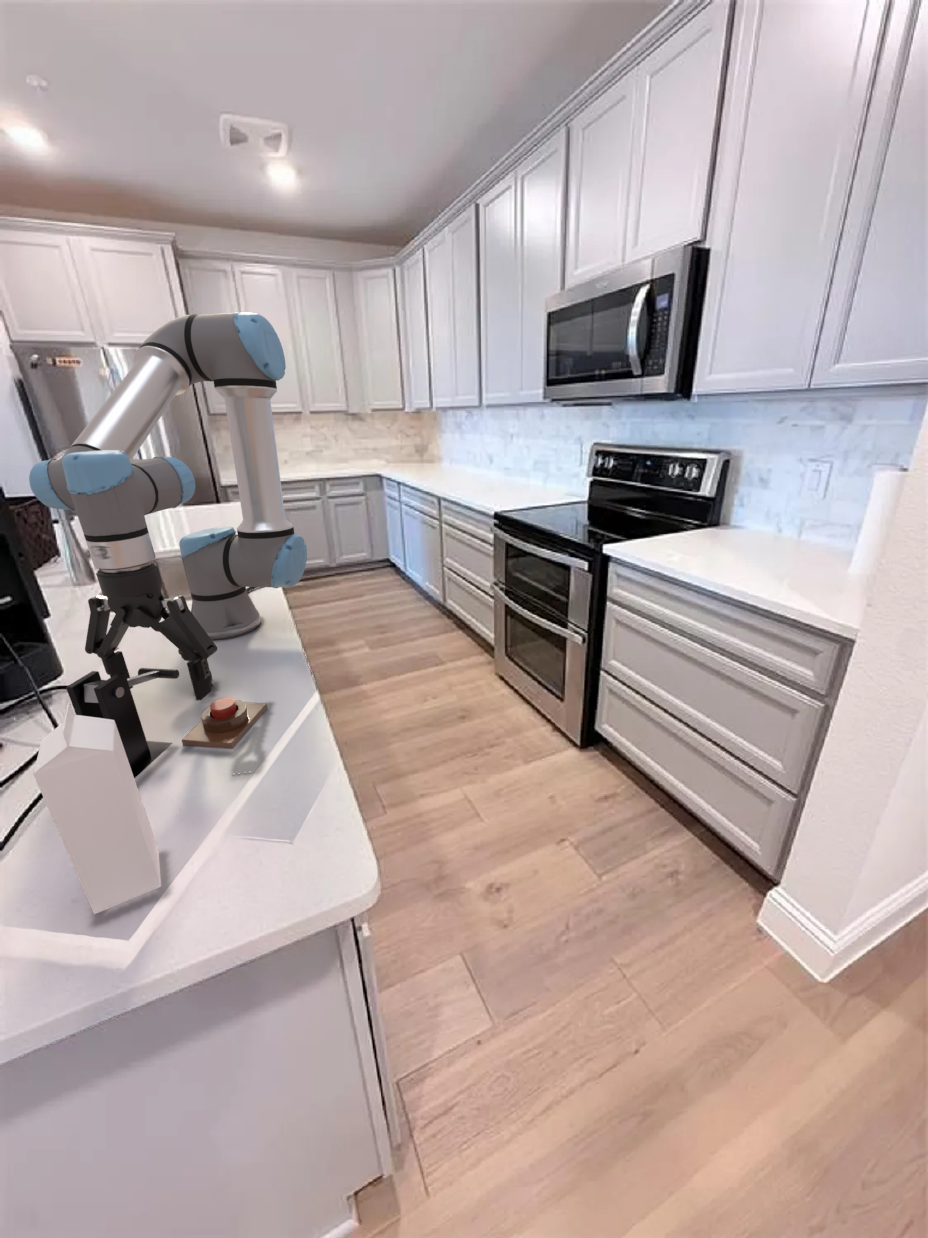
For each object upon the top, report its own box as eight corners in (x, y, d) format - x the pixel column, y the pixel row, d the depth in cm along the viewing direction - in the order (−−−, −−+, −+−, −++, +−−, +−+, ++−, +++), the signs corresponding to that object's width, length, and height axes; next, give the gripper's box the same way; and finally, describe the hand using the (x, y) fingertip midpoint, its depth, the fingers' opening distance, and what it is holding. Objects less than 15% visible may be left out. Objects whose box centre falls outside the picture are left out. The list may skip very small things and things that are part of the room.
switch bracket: (126, 745, 78) (98, 661, 73) (174, 749, 77) (149, 663, 72) (73, 791, 69) (35, 698, 64) (126, 795, 68) (93, 701, 63)
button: (220, 706, 82) (218, 696, 81) (241, 707, 81) (239, 698, 81) (207, 718, 78) (204, 709, 78) (229, 720, 78) (226, 710, 77)
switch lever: (144, 679, 80) (144, 664, 80) (179, 680, 80) (179, 665, 79) (71, 701, 67) (70, 684, 67) (112, 704, 67) (111, 686, 66)
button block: (224, 711, 87) (220, 691, 85) (268, 714, 86) (264, 693, 84) (184, 752, 77) (178, 729, 75) (234, 755, 76) (228, 733, 74)
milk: (161, 856, 59) (107, 691, 50) (164, 895, 54) (105, 721, 46) (98, 880, 56) (30, 710, 48) (95, 924, 51) (19, 743, 43)
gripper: (24, 571, 70) (74, 702, 79) (191, 575, 67) (224, 710, 76) (69, 556, 77) (110, 678, 85) (222, 559, 74) (249, 685, 82)
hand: (164, 693), depth 81 cm, fingers open, 13 cm apart
